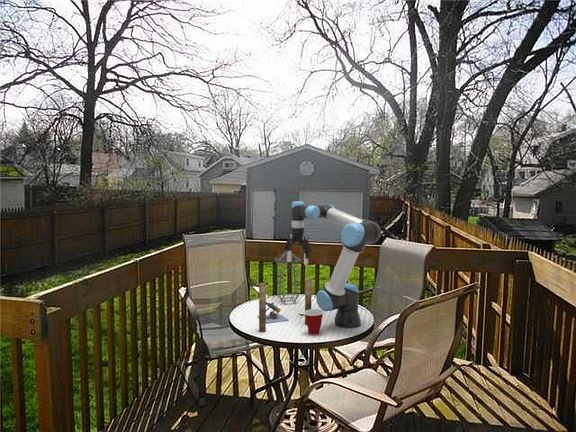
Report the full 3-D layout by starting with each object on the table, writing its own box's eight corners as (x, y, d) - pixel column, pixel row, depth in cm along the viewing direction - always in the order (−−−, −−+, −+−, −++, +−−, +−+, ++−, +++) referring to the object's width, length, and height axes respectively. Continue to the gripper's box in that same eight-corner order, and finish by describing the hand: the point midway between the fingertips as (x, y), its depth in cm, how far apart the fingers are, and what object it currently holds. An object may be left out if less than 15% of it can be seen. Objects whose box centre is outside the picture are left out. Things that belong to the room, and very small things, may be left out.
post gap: (312, 324, 252) (312, 279, 250) (260, 332, 239) (260, 284, 237) (309, 323, 255) (309, 278, 254) (258, 330, 242) (258, 283, 240)
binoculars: (274, 323, 259) (283, 308, 261) (262, 316, 255) (271, 301, 257) (268, 319, 267) (276, 304, 269) (256, 312, 263) (264, 297, 265)
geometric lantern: (279, 306, 291) (278, 253, 289) (274, 300, 306) (273, 250, 304) (302, 304, 294) (302, 252, 293) (296, 299, 310) (295, 249, 308)
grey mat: (288, 320, 260) (288, 319, 260) (266, 323, 254) (266, 322, 254) (278, 314, 273) (278, 313, 273) (257, 317, 267) (257, 316, 267)
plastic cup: (302, 330, 243) (302, 308, 242) (322, 329, 244) (322, 308, 243) (304, 336, 232) (304, 314, 231) (325, 336, 233) (325, 314, 232)
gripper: (317, 228, 259) (317, 264, 260) (287, 225, 276) (287, 259, 277) (309, 229, 253) (309, 266, 255) (278, 226, 271) (278, 261, 272)
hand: (297, 262), depth 266 cm, fingers open, 13 cm apart
